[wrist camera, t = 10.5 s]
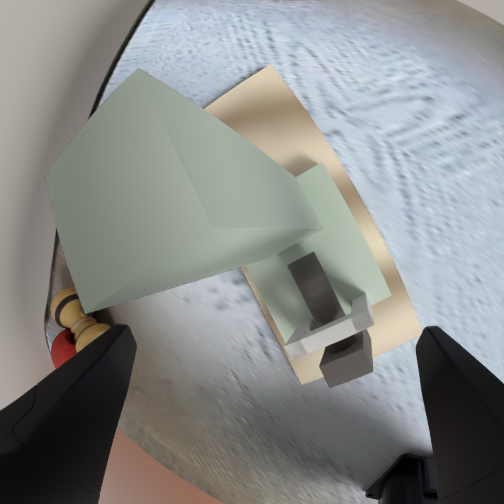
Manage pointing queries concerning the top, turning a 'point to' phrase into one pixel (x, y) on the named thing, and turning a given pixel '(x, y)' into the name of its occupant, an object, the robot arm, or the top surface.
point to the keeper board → (297, 156)
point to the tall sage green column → (202, 214)
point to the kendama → (72, 326)
